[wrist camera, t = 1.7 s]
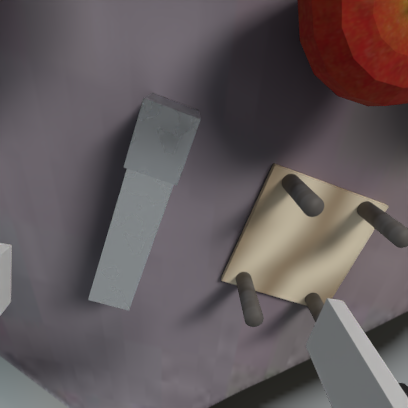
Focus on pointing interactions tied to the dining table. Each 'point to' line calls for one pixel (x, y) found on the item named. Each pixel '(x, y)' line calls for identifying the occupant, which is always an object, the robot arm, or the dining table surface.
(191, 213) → the dining table surface
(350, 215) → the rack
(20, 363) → the dining table surface
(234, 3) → the dining table surface
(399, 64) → the apple
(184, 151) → the grey stepped post
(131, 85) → the dining table surface
